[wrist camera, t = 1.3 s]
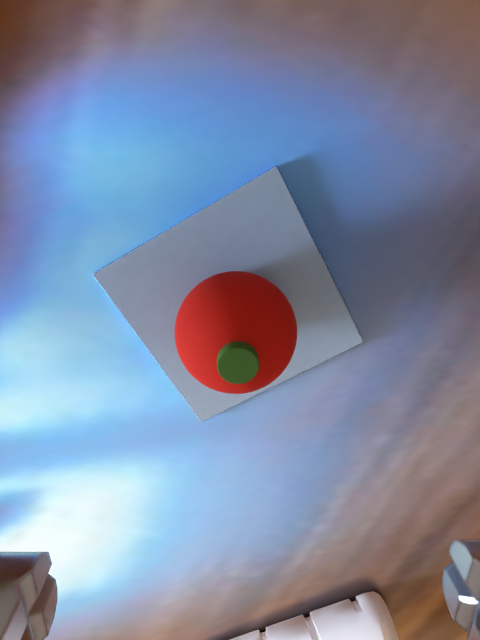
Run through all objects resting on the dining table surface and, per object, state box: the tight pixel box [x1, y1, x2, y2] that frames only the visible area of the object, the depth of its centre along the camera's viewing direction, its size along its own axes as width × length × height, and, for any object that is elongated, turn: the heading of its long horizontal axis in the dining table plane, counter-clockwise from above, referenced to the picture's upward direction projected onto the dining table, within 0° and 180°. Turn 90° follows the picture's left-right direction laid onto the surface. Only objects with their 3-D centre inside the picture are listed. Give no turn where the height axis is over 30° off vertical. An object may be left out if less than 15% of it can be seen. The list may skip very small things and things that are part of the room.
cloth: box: [93, 166, 363, 422], centre depth 21 cm, size 10×10×1 cm
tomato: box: [175, 271, 297, 394], centre depth 18 cm, size 5×5×6 cm
